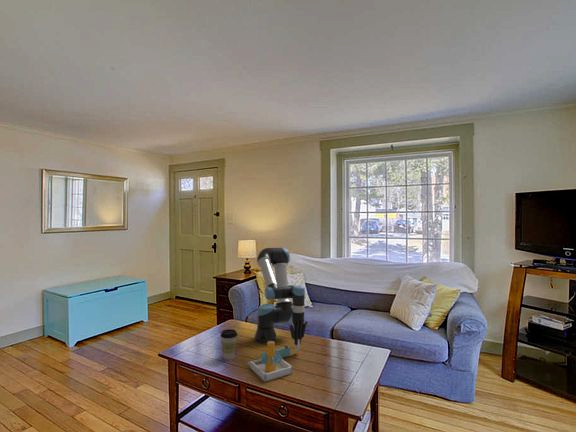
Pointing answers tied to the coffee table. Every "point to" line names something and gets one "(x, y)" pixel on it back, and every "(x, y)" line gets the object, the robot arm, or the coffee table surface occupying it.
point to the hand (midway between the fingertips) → (297, 349)
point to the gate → (282, 352)
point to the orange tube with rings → (270, 357)
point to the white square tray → (281, 371)
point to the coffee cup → (228, 343)
